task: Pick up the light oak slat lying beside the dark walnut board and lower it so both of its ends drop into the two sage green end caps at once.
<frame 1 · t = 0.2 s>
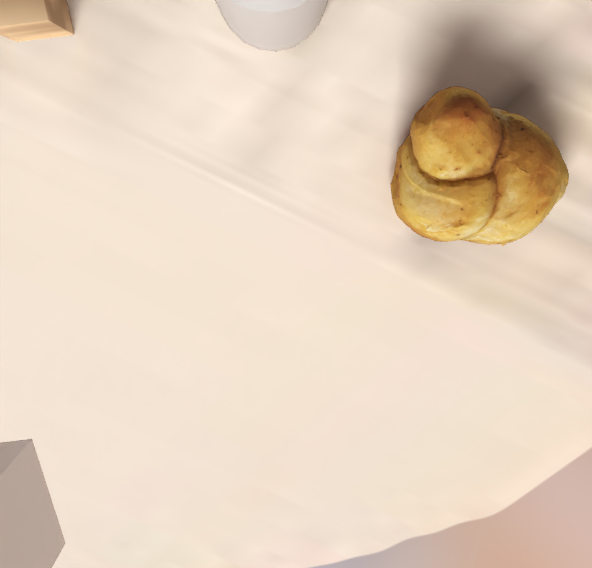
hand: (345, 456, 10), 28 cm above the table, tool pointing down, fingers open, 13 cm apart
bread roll: (463, 178, 36), on the table
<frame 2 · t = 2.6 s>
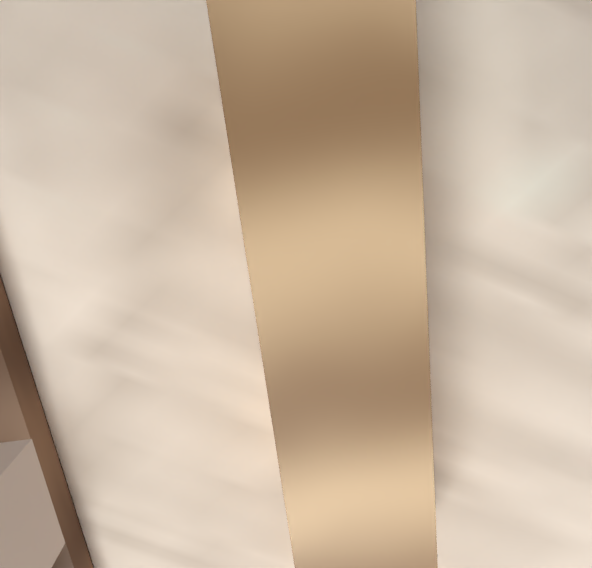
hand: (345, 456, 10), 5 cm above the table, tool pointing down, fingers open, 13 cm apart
slat: (334, 332, 15), on the table
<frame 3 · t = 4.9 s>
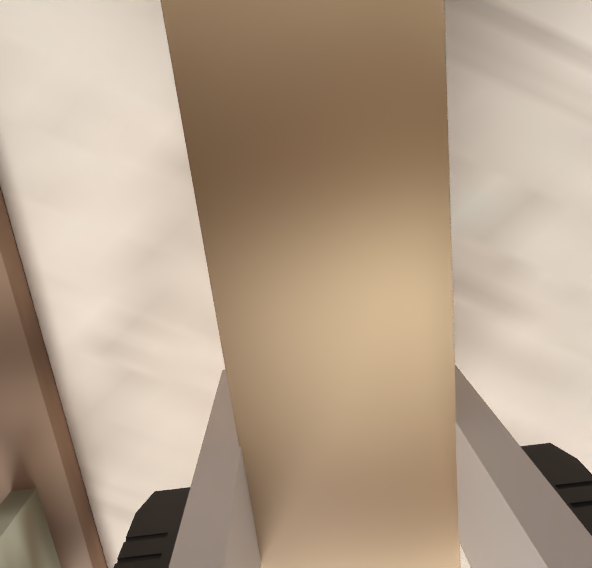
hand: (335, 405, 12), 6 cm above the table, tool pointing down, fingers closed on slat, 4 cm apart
slat: (333, 394, 13), point 5 cm above the table, touching gripper
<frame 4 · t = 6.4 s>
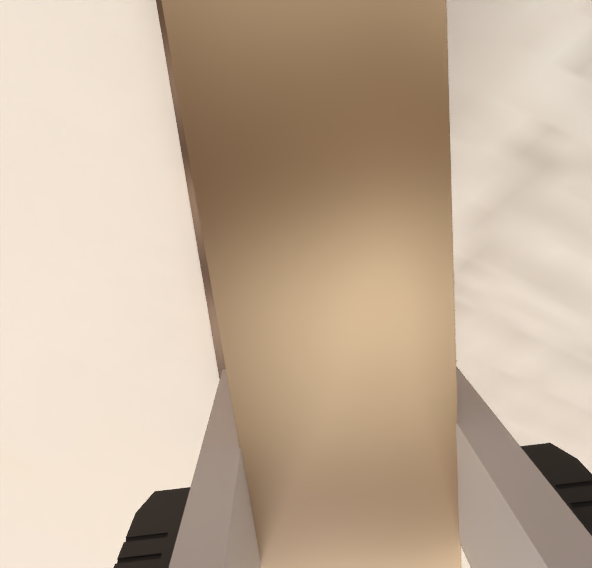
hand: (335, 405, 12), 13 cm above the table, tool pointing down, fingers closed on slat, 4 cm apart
cradle: (302, 271, 24), on the table
slat: (333, 397, 13), point 12 cm above the table, touching gripper
when the fingers open (2 cm above the table, at t = 8.2 s): slat stays where it is, resting on cradle.
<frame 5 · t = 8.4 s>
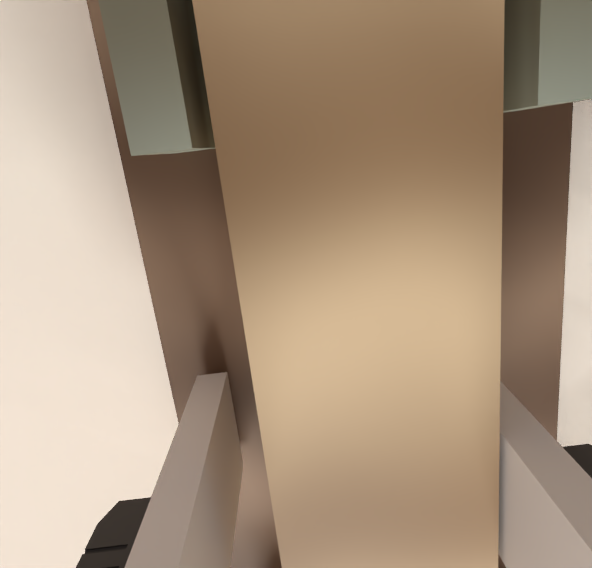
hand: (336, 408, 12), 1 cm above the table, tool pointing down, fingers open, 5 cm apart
cradle: (360, 375, 13), on the table
slat: (357, 403, 12), point 1 cm above the table, touching cradle, gripper
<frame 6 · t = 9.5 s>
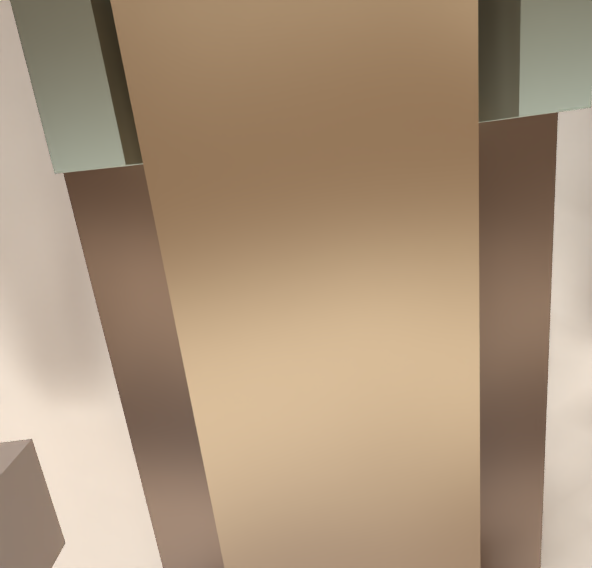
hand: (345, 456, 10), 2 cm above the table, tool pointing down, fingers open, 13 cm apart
cradle: (334, 402, 12), on the table
slat: (330, 435, 11), point 1 cm above the table, touching cradle
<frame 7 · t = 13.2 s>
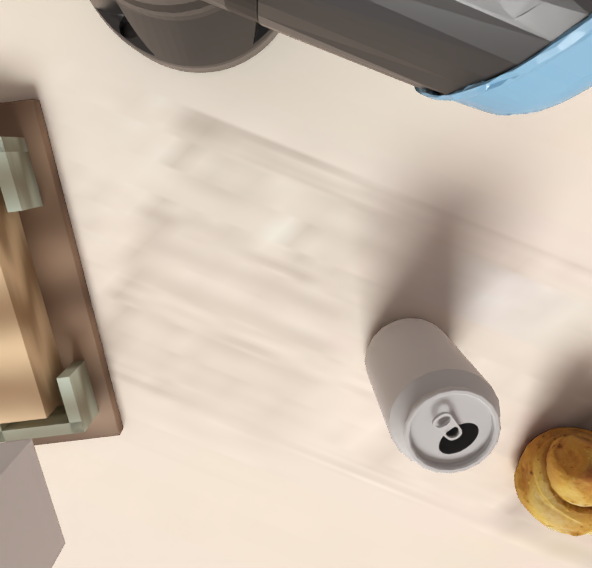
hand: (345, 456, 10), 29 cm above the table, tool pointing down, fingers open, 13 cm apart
cradle: (25, 288, 38), on the table
can: (405, 353, 41), on the table
slat: (16, 295, 37), point 1 cm above the table, touching cradle
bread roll: (568, 462, 45), on the table
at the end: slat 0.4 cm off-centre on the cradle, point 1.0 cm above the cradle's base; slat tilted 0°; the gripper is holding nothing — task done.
